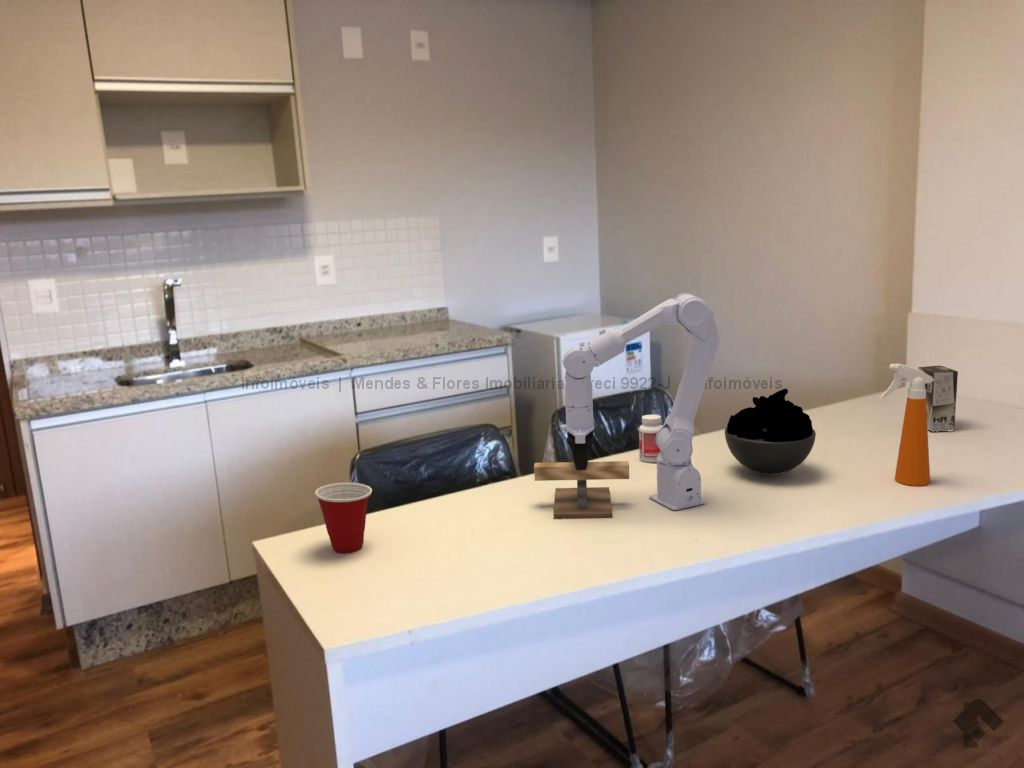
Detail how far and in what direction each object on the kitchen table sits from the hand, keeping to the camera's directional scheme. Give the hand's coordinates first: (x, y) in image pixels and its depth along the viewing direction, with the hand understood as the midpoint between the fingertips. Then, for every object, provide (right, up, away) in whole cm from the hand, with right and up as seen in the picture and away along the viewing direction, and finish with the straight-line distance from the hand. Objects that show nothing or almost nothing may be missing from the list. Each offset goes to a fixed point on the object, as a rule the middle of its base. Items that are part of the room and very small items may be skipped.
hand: (581, 466), depth 175 cm
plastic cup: (-46, -14, -15) cm, 51 cm away
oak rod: (0, -2, 0) cm, 2 cm away
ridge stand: (0, -8, +2) cm, 8 cm away
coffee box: (+98, +6, +45) cm, 108 cm away
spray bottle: (+71, -4, +6) cm, 72 cm away
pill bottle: (+20, -1, +30) cm, 37 cm away
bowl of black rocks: (+45, -3, +16) cm, 48 cm away
